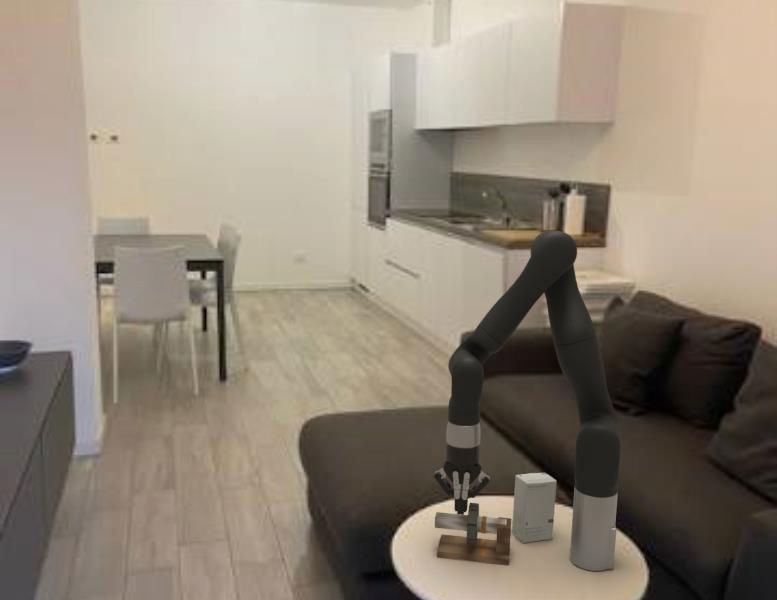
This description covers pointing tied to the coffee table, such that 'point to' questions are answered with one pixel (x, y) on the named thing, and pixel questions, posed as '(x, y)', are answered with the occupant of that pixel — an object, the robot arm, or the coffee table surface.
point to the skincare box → (533, 507)
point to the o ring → (472, 523)
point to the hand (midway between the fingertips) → (460, 512)
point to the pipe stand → (484, 548)
